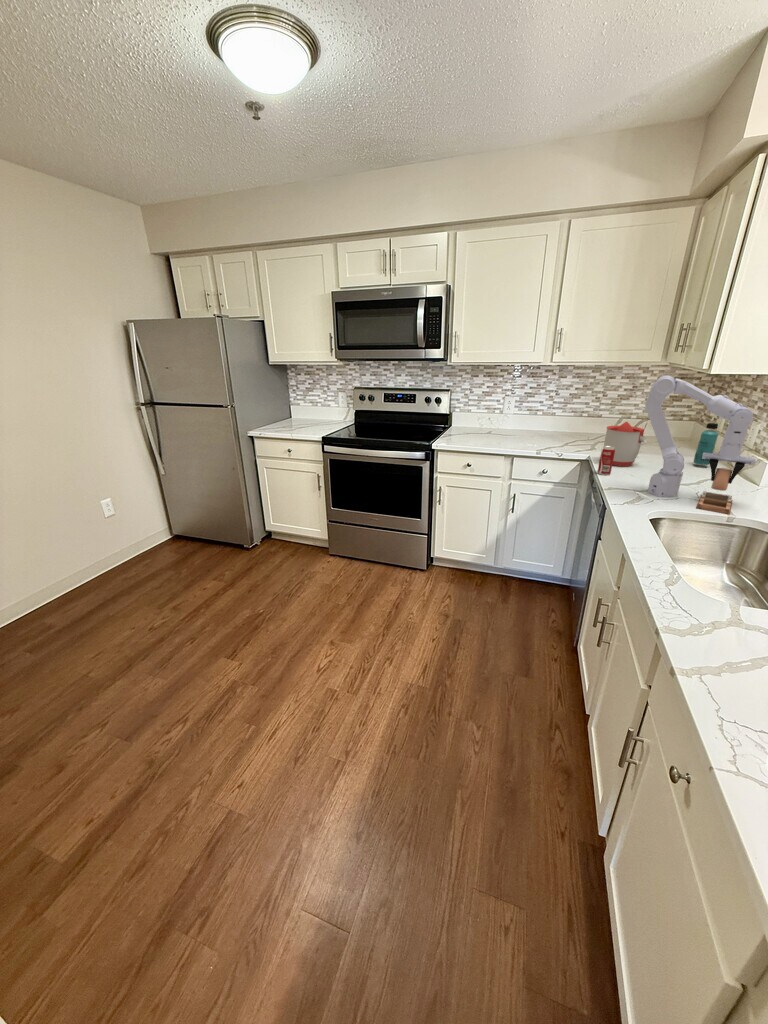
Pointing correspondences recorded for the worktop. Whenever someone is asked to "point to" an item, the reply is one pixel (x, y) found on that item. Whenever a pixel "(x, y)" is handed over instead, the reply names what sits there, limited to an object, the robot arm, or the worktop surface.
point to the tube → (721, 479)
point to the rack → (715, 503)
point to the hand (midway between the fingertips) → (720, 481)
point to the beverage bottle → (706, 444)
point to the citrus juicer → (624, 443)
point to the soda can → (606, 460)
